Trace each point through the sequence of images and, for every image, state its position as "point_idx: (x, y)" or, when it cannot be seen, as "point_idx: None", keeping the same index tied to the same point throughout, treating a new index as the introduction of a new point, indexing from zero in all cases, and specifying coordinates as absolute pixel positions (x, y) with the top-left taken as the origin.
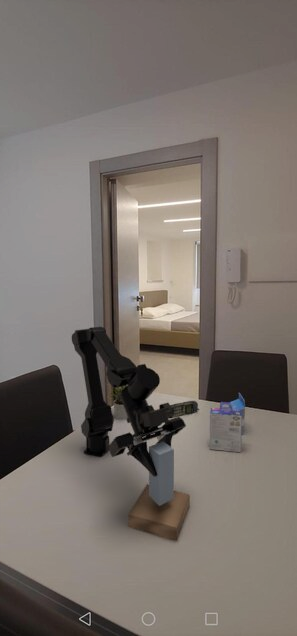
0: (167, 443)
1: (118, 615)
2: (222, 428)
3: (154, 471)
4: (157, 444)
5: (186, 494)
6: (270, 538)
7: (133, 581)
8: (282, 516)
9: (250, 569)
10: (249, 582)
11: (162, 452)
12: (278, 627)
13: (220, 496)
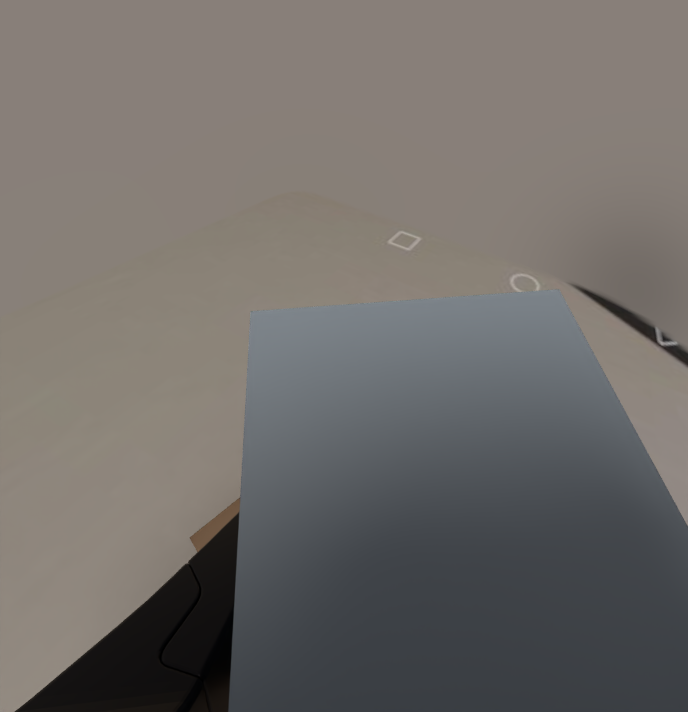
0: (129, 707)
1: (590, 312)
2: None
3: None
4: (483, 680)
5: (202, 547)
6: (129, 299)
7: None
8: (9, 332)
9: (256, 268)
10: (284, 252)
11: (483, 316)
12: (309, 195)
13: (47, 522)
